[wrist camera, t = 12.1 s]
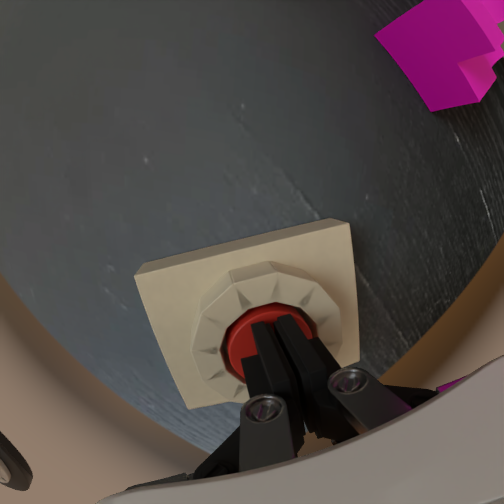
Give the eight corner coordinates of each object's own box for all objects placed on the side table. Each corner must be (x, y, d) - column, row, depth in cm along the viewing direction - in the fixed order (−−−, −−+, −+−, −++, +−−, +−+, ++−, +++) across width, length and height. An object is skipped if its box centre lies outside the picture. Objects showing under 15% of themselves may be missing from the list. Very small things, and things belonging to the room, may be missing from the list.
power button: (235, 370, 13) (240, 392, 12) (216, 307, 12) (218, 324, 11) (305, 351, 14) (317, 370, 12) (294, 286, 13) (308, 301, 11)
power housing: (188, 386, 16) (187, 432, 12) (142, 263, 14) (123, 290, 10) (344, 343, 17) (375, 378, 13) (330, 217, 15) (370, 228, 11)
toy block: (430, 111, 15) (518, 95, 7) (373, 35, 13) (448, -15, 6) (489, 48, 14) (543, 35, 7) (452, -5, 12) (502, -29, 5)
